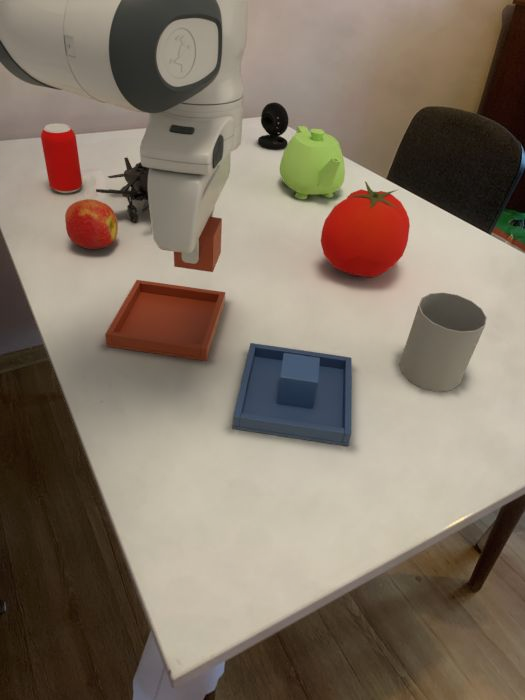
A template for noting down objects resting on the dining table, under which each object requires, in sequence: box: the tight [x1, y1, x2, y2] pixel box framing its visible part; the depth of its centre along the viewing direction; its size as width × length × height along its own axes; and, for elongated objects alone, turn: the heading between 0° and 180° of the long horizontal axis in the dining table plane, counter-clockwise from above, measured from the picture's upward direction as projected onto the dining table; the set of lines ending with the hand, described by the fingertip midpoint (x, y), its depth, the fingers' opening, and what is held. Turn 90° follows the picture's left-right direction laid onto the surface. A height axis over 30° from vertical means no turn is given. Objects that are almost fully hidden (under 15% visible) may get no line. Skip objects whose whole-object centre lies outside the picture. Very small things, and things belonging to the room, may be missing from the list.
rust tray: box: [104, 279, 226, 362], centre depth 76 cm, size 14×14×2 cm
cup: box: [399, 292, 487, 393], centre depth 71 cm, size 8×8×10 cm
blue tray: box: [232, 342, 353, 447], centre depth 67 cm, size 14×14×2 cm
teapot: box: [279, 125, 346, 200], centre depth 113 cm, size 20×13×13 cm
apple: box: [64, 198, 119, 250], centre depth 89 cm, size 8×8×8 cm
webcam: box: [257, 102, 289, 150], centre depth 133 cm, size 8×8×10 cm
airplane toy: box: [95, 157, 150, 223], centre depth 99 cm, size 20×19×15 cm
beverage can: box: [40, 122, 83, 194], centre depth 104 cm, size 6×6×12 cm
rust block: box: [173, 216, 223, 273], centre depth 61 cm, size 4×4×4 cm
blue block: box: [276, 353, 320, 409], centre depth 66 cm, size 4×4×4 cm
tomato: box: [320, 180, 411, 278], centre depth 88 cm, size 16×14×14 cm
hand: (197, 247), depth 62 cm, fingers closed on rust block, 4 cm apart
